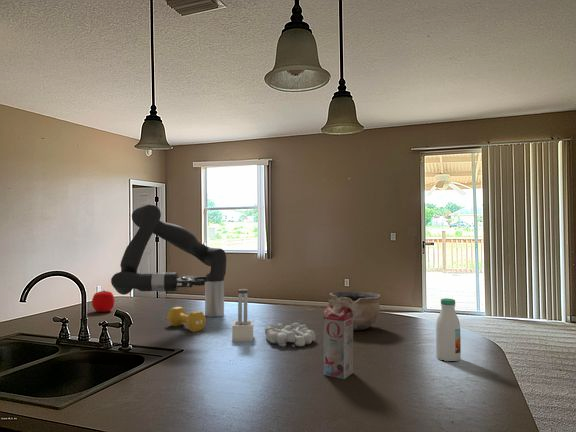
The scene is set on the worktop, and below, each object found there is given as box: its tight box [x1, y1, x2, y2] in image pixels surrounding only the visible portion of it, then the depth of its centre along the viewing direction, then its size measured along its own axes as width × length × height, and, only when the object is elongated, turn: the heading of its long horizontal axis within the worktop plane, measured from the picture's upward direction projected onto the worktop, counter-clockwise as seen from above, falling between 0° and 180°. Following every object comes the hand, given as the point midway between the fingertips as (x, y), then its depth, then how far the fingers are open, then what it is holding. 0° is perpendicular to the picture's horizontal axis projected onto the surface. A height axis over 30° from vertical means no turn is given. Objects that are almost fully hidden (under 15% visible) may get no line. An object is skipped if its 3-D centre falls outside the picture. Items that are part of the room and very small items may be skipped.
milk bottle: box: [435, 297, 462, 362], centre depth 145 cm, size 8×8×20 cm
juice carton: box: [323, 299, 354, 380], centre depth 130 cm, size 7×7×22 cm
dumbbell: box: [166, 306, 207, 333], centre depth 187 cm, size 19×9×8 cm, turn 47°
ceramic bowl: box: [329, 290, 381, 331], centre depth 187 cm, size 22×22×15 cm
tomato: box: [91, 290, 115, 313], centre depth 222 cm, size 10×11×11 cm
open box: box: [231, 320, 254, 342], centre depth 170 cm, size 8×8×6 cm
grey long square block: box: [237, 288, 249, 325], centre depth 170 cm, size 4×4×18 cm
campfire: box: [264, 322, 317, 347], centre depth 167 cm, size 22×21×6 cm
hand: (206, 280), depth 172 cm, fingers open, 8 cm apart
